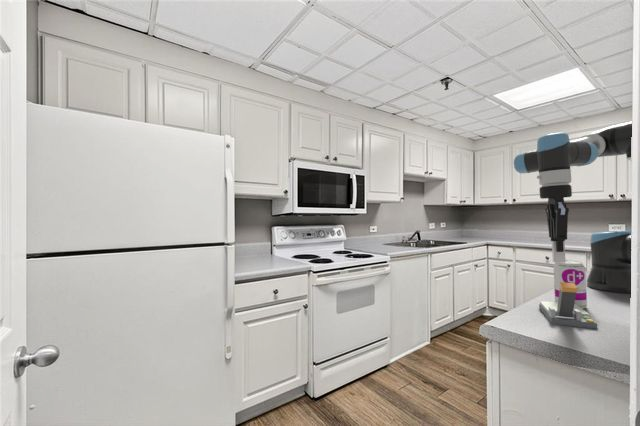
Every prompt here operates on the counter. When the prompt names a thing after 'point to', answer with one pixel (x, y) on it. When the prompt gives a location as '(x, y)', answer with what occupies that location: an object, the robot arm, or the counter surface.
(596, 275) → the robot arm
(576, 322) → the panel
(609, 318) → the counter surface
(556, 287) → the supplement can
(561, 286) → the breaker lever
